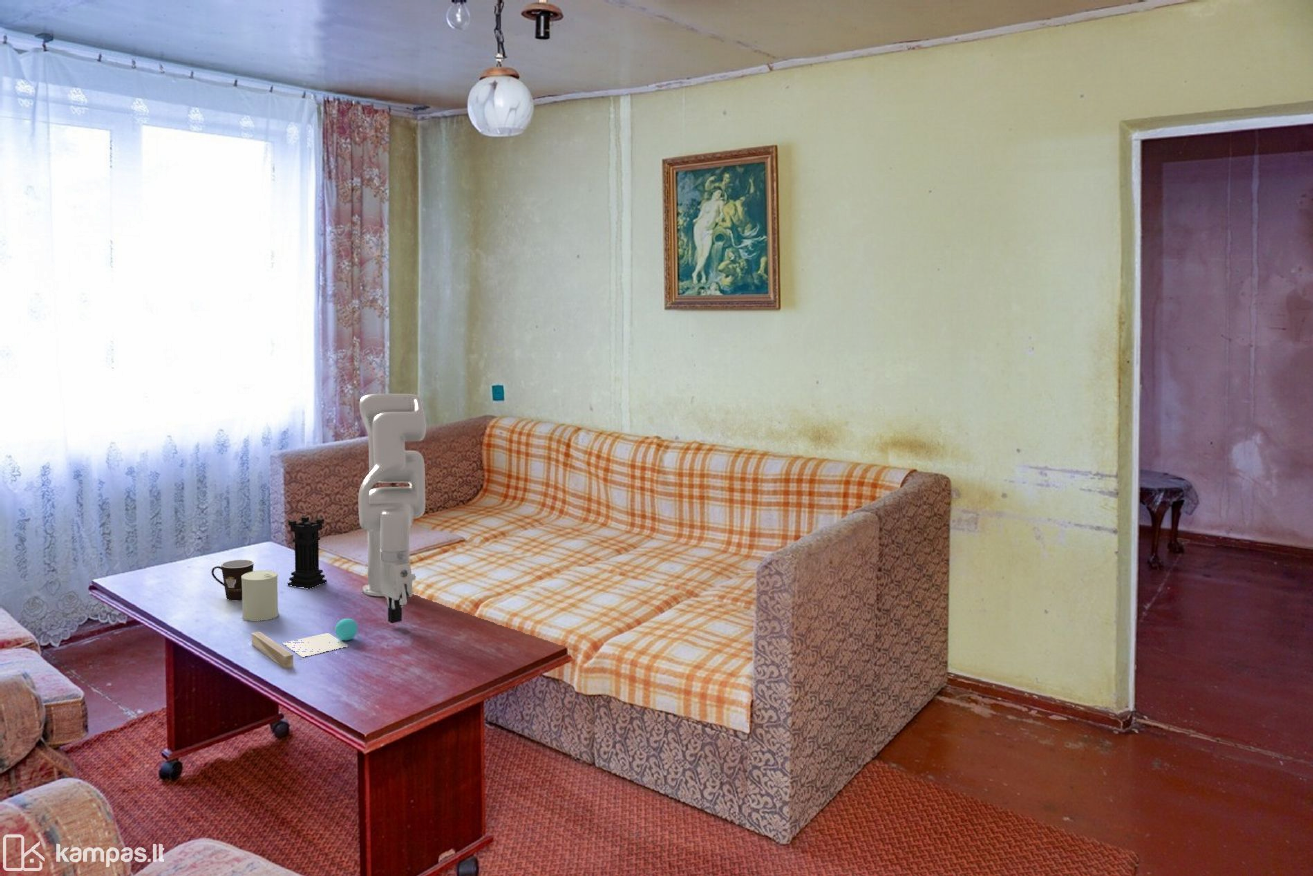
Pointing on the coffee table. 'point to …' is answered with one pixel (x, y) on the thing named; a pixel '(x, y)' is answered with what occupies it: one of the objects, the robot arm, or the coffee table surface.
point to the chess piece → (306, 553)
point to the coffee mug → (234, 577)
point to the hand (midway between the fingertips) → (394, 621)
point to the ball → (346, 629)
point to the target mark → (315, 644)
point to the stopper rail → (272, 650)
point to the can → (259, 595)
